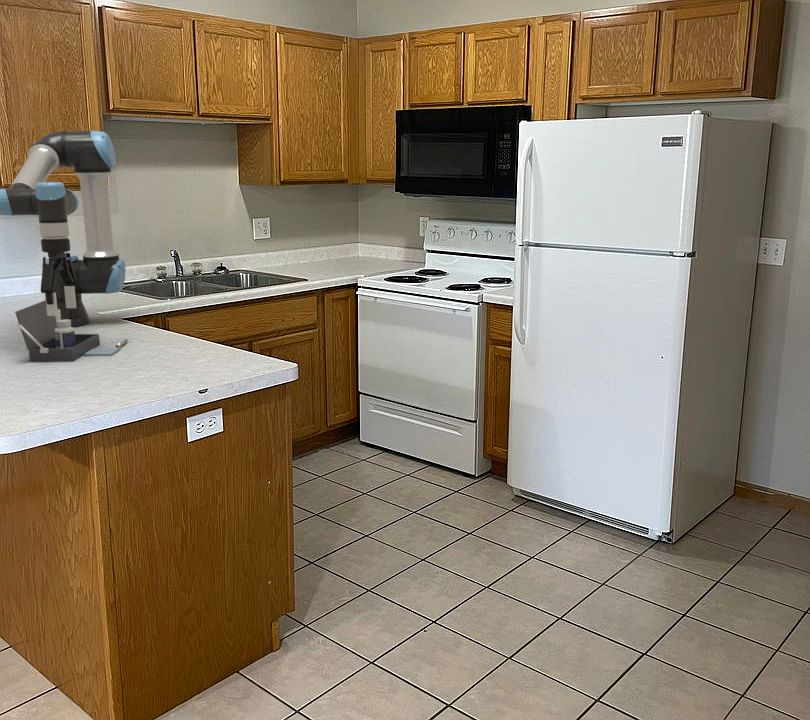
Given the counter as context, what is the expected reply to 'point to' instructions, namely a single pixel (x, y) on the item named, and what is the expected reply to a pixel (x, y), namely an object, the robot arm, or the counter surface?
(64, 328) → the pill bottle
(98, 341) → the case
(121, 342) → the rod
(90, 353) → the mat
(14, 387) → the counter surface
